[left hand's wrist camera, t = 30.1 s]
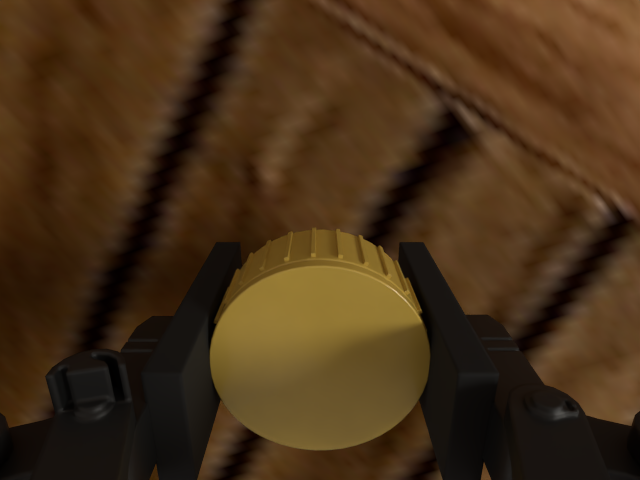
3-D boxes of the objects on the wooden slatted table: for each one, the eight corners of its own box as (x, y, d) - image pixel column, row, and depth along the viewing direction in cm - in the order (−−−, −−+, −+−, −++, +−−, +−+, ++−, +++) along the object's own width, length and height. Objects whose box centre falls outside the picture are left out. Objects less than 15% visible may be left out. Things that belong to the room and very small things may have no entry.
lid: (397, 205, 11) (415, 238, 9) (427, 372, 13) (448, 432, 11) (199, 249, 12) (172, 291, 10) (255, 405, 14) (243, 469, 12)
